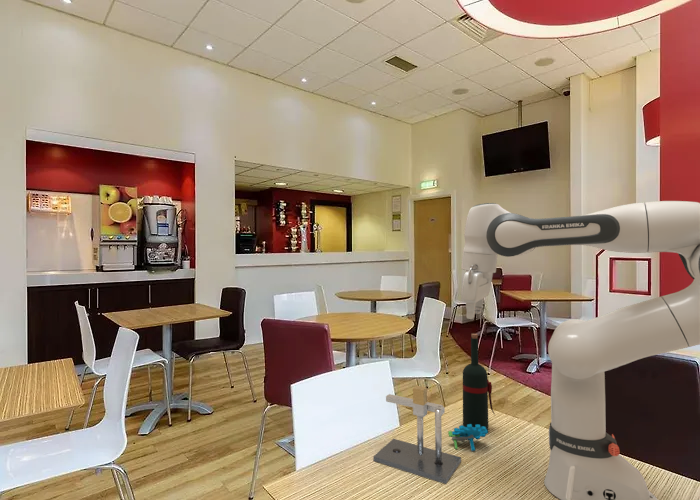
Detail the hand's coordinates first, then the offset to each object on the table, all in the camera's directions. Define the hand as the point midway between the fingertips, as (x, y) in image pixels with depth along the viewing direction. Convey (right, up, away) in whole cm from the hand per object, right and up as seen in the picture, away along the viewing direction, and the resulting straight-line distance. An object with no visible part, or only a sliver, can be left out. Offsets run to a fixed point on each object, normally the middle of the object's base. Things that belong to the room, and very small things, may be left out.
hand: (473, 315), depth 105 cm
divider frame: (-16, -38, +2) cm, 41 cm away
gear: (+1, -39, +9) cm, 40 cm away
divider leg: (-14, -37, 0) cm, 40 cm away
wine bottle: (+8, -39, +19) cm, 44 cm away
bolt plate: (-15, -39, 0) cm, 42 cm away
